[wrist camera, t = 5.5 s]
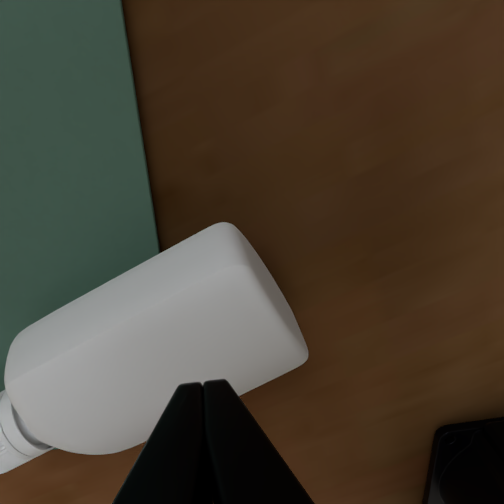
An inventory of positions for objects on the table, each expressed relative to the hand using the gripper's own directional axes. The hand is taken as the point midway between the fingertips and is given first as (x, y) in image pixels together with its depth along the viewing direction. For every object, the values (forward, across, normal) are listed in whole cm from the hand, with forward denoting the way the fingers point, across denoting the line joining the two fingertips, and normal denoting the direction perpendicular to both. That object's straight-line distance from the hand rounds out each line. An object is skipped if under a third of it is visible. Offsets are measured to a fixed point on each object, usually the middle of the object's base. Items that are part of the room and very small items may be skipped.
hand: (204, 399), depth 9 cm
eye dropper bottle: (+6, -2, +2) cm, 7 cm away
